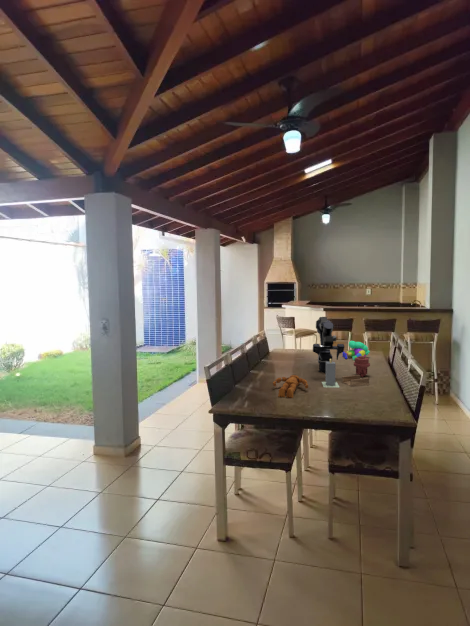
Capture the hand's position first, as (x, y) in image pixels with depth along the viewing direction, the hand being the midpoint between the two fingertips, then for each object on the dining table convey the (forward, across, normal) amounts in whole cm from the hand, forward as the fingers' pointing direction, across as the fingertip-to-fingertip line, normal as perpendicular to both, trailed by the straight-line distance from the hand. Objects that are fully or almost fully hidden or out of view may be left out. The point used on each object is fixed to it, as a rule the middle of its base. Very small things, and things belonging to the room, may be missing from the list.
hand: (329, 359), depth 249 cm
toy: (+24, -24, -4) cm, 34 cm away
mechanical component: (-1, +22, +20) cm, 30 cm away
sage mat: (+15, 0, +4) cm, 16 cm away
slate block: (+15, 0, +3) cm, 15 cm away
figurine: (-40, +30, +61) cm, 79 cm away
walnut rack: (+13, +14, +6) cm, 20 cm away
